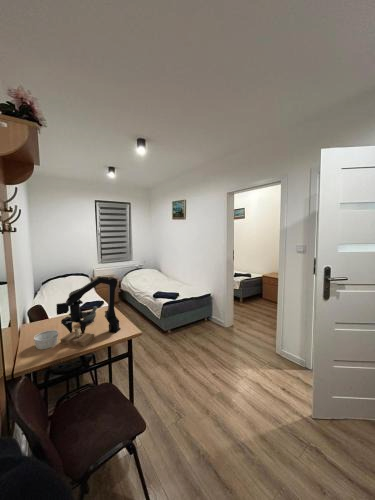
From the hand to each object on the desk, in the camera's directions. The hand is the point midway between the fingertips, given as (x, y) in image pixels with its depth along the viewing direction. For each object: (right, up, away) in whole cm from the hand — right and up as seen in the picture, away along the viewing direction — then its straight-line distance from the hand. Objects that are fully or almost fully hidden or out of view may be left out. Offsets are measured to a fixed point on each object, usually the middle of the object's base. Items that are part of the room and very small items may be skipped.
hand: (77, 333), depth 138 cm
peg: (0, -5, +1) cm, 5 cm away
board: (0, -5, +1) cm, 5 cm away
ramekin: (-18, -6, -3) cm, 19 cm away
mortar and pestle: (-4, -2, +28) cm, 29 cm away
